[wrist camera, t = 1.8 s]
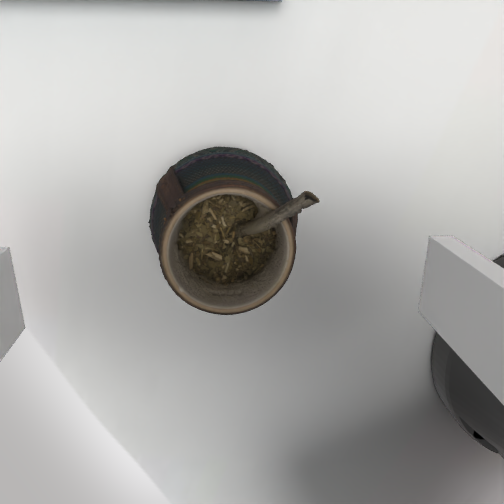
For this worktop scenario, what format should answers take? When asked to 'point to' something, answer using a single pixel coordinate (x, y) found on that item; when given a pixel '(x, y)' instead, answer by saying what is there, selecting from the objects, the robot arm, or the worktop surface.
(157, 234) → the mate gourd
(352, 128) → the worktop surface
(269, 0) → the slate tray
